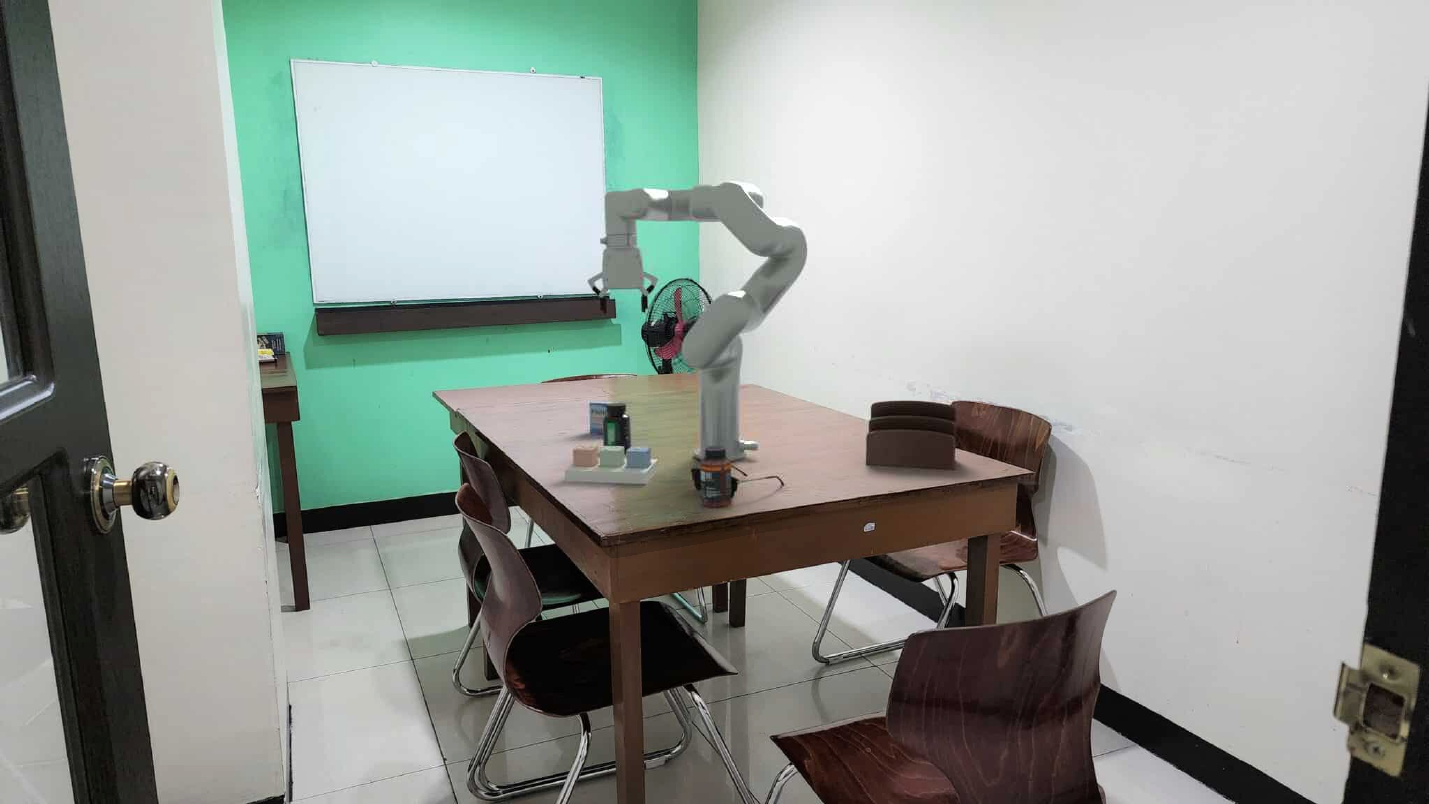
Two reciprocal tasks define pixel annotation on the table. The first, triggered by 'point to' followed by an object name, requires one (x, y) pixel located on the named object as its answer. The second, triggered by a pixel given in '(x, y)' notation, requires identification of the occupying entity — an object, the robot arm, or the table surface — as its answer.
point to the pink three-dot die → (585, 456)
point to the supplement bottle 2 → (715, 478)
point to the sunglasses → (734, 481)
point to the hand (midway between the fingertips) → (624, 312)
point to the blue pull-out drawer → (638, 457)
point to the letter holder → (912, 435)
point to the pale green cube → (612, 456)
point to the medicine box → (598, 415)
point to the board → (611, 474)
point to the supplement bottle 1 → (617, 426)
